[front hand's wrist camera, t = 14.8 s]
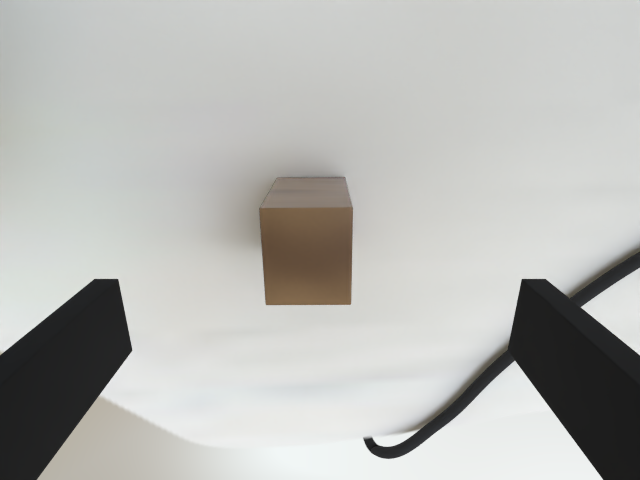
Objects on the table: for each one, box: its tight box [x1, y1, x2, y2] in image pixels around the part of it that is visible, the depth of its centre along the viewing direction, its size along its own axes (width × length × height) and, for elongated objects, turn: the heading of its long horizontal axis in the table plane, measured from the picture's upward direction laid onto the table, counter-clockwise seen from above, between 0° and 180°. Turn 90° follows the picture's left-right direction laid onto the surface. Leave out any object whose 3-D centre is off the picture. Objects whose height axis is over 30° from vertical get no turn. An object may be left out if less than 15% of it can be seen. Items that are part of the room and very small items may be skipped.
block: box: [259, 177, 353, 305], centre depth 25 cm, size 6×5×8 cm
